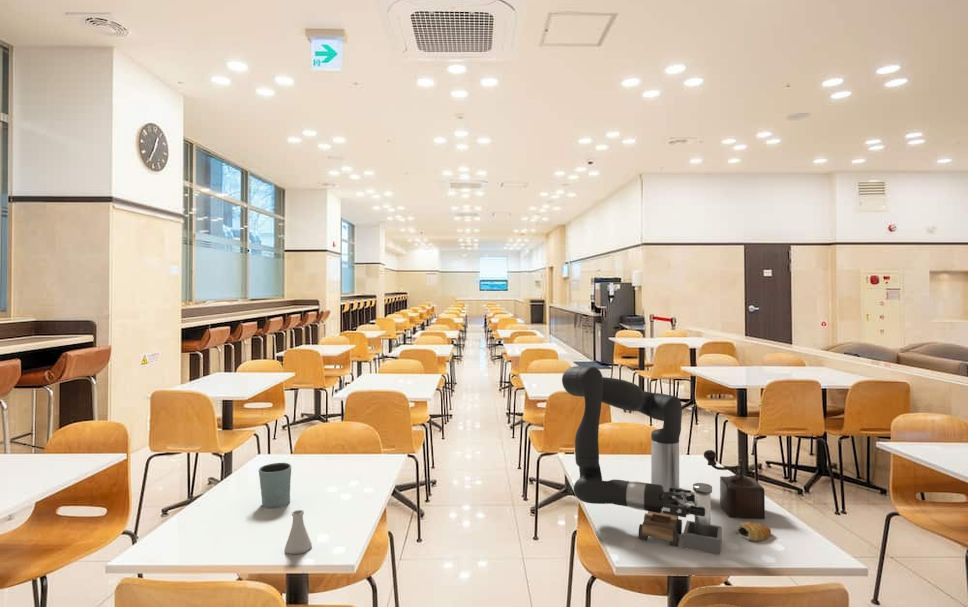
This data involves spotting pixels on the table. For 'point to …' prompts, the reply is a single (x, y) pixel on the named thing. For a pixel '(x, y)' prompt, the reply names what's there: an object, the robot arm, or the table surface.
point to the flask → (298, 535)
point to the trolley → (661, 527)
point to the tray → (702, 539)
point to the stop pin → (704, 500)
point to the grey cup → (275, 484)
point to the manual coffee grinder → (739, 492)
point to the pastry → (753, 531)
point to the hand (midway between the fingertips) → (706, 506)
